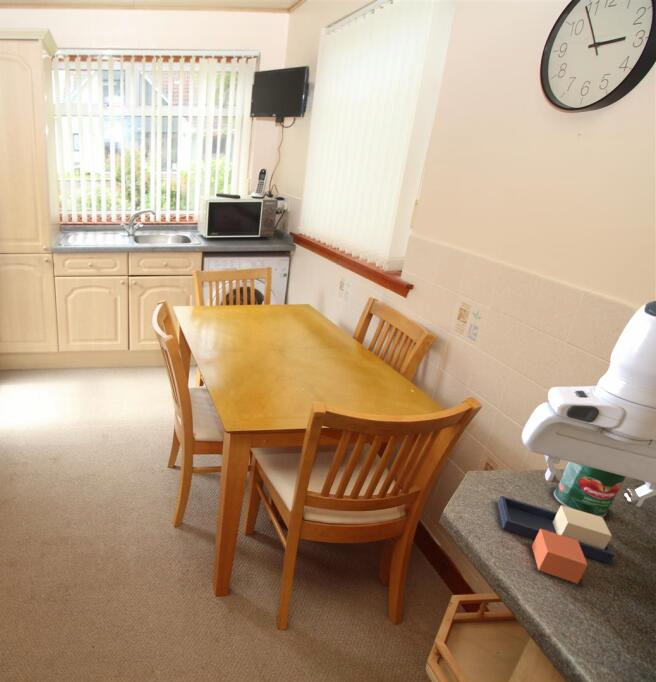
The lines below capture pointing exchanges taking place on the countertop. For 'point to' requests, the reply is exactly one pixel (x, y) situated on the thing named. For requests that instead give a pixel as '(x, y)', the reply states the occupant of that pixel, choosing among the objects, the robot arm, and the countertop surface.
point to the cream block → (582, 527)
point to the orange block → (559, 556)
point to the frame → (540, 525)
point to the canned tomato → (588, 489)
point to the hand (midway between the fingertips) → (590, 491)
